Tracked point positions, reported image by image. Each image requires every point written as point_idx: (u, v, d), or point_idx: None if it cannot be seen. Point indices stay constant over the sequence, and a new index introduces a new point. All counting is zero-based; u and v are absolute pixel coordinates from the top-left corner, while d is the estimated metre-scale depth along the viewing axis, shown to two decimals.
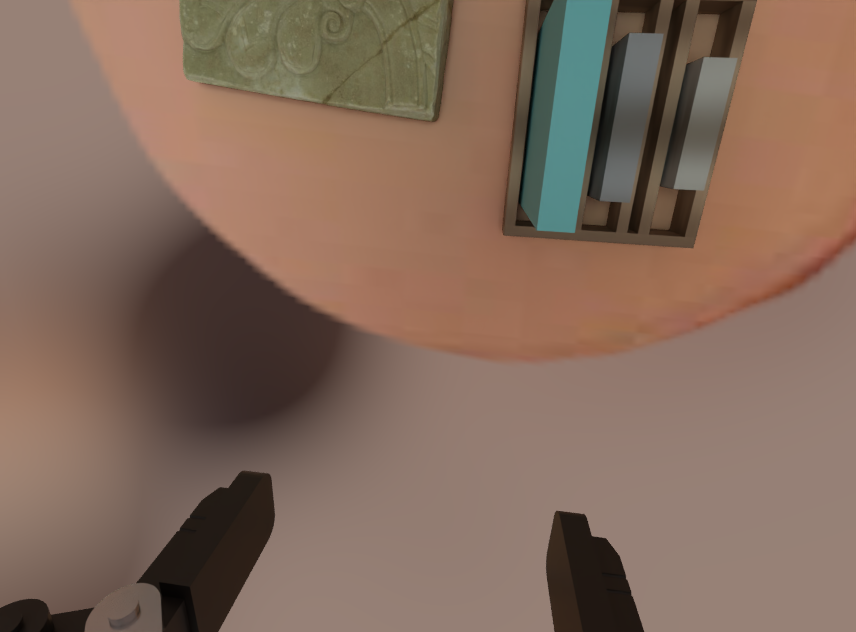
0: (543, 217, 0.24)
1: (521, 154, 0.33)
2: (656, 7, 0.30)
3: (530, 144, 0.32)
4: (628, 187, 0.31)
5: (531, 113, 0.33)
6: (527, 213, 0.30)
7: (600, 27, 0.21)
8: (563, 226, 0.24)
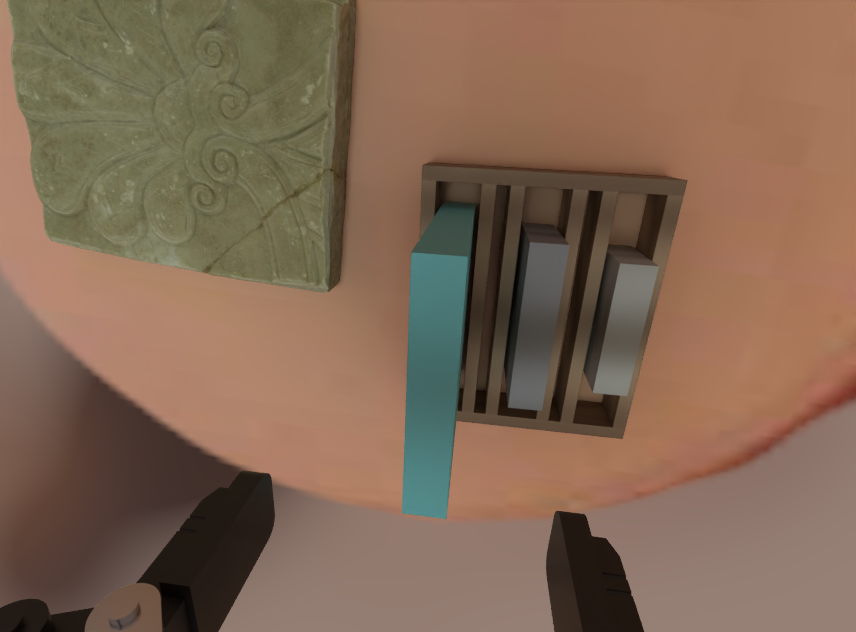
0: (408, 501, 0.20)
1: None
2: (570, 193, 0.26)
3: None
4: (540, 396, 0.27)
5: None
6: None
7: (453, 323, 0.17)
8: (432, 512, 0.20)
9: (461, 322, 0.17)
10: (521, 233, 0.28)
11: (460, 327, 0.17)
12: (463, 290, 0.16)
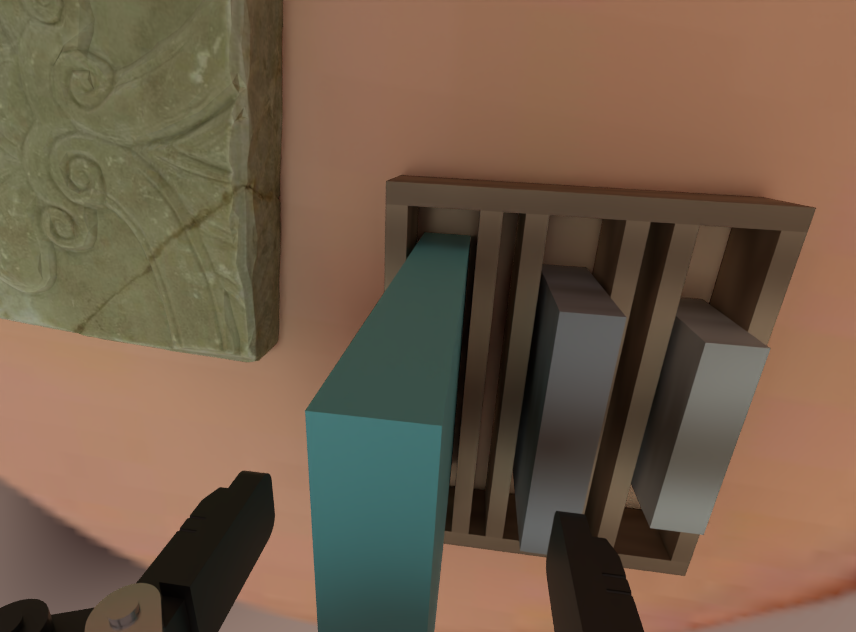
0: None
1: None
2: (619, 225, 0.16)
3: None
4: None
5: None
6: None
7: (412, 555, 0.07)
8: None
9: (430, 554, 0.07)
10: None
11: (428, 563, 0.07)
12: (433, 495, 0.07)
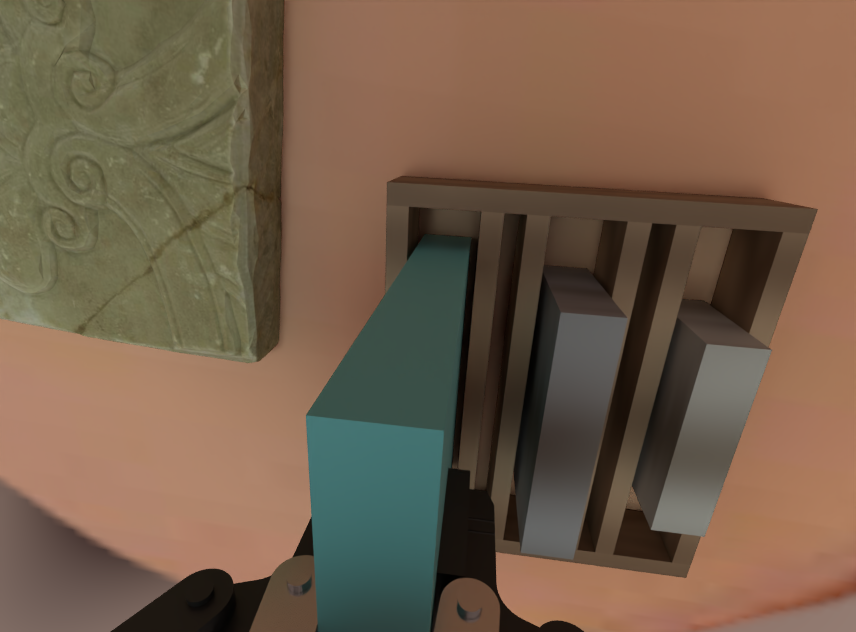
0: None
1: None
2: (620, 226, 0.16)
3: None
4: (570, 539, 0.17)
5: None
6: None
7: (413, 561, 0.07)
8: None
9: (432, 560, 0.07)
10: None
11: (430, 569, 0.07)
12: (434, 500, 0.07)
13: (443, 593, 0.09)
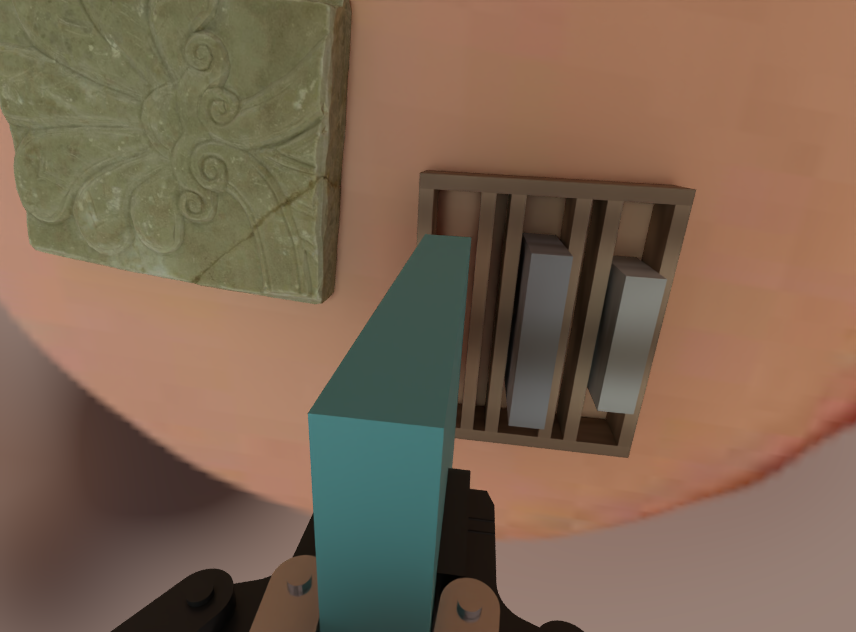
0: None
1: None
2: (573, 202, 0.25)
3: None
4: (542, 414, 0.25)
5: None
6: None
7: (414, 557, 0.07)
8: None
9: (432, 556, 0.07)
10: (522, 243, 0.27)
11: (430, 565, 0.07)
12: (434, 497, 0.07)
13: (443, 593, 0.09)
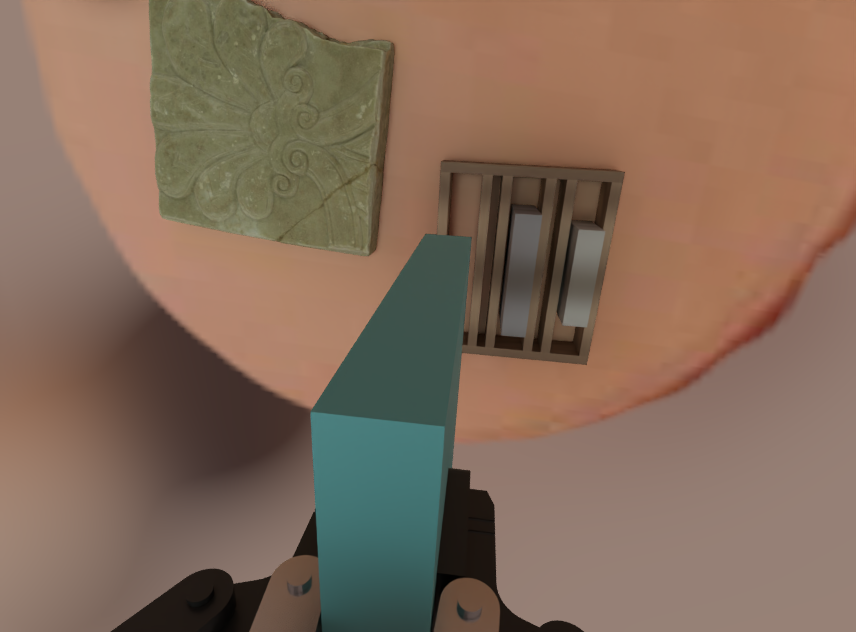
0: None
1: None
2: (545, 181, 0.36)
3: None
4: (523, 326, 0.37)
5: None
6: None
7: (415, 554, 0.07)
8: None
9: (433, 553, 0.07)
10: (511, 211, 0.39)
11: (431, 562, 0.08)
12: (436, 495, 0.07)
13: (443, 593, 0.09)
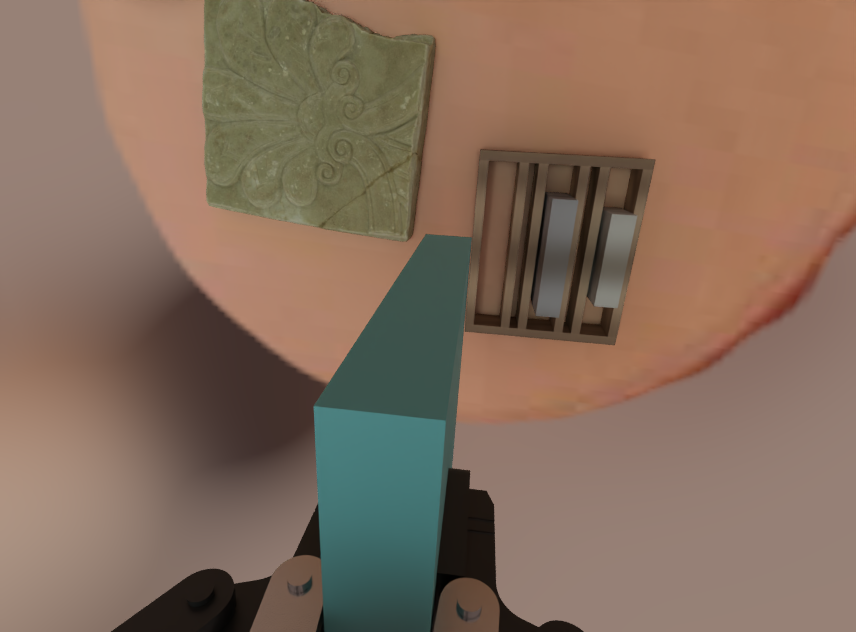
0: None
1: (476, 272, 0.42)
2: (578, 168, 0.38)
3: None
4: (557, 306, 0.39)
5: None
6: None
7: (416, 547, 0.08)
8: None
9: (433, 546, 0.08)
10: (544, 198, 0.41)
11: (432, 555, 0.08)
12: (436, 488, 0.07)
13: (443, 593, 0.09)
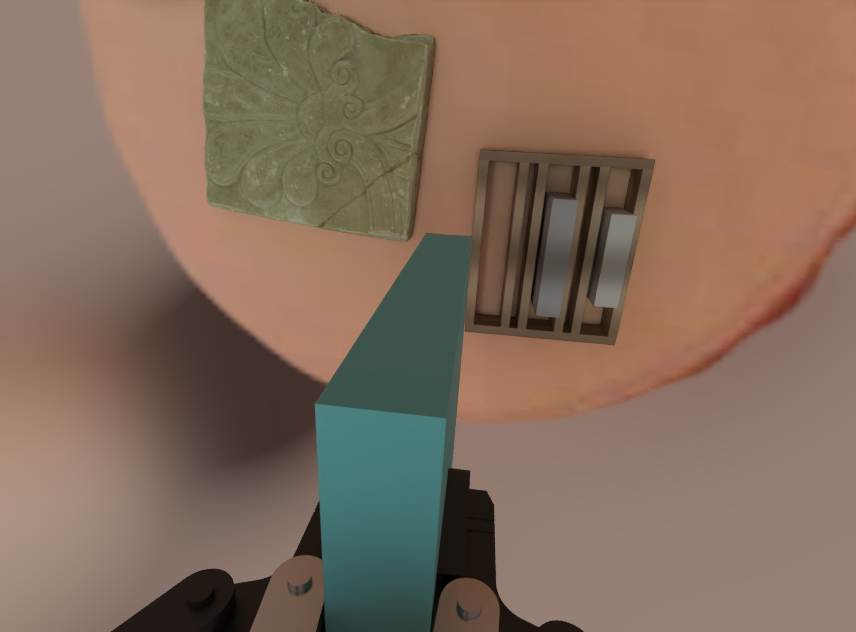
0: None
1: (476, 272, 0.42)
2: (578, 168, 0.38)
3: None
4: (558, 306, 0.39)
5: None
6: None
7: (417, 544, 0.08)
8: None
9: (434, 543, 0.08)
10: (544, 198, 0.41)
11: (432, 551, 0.08)
12: (437, 485, 0.07)
13: (443, 593, 0.09)
